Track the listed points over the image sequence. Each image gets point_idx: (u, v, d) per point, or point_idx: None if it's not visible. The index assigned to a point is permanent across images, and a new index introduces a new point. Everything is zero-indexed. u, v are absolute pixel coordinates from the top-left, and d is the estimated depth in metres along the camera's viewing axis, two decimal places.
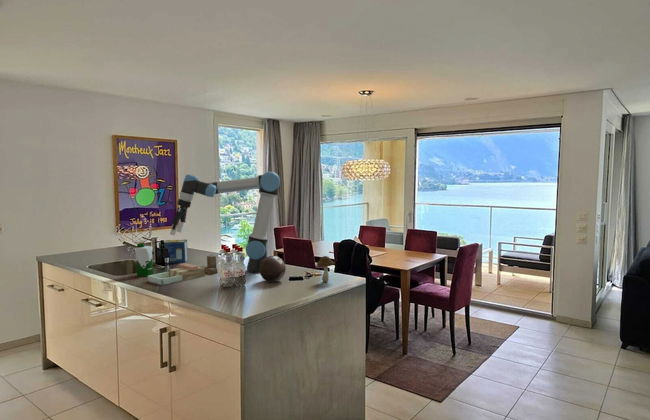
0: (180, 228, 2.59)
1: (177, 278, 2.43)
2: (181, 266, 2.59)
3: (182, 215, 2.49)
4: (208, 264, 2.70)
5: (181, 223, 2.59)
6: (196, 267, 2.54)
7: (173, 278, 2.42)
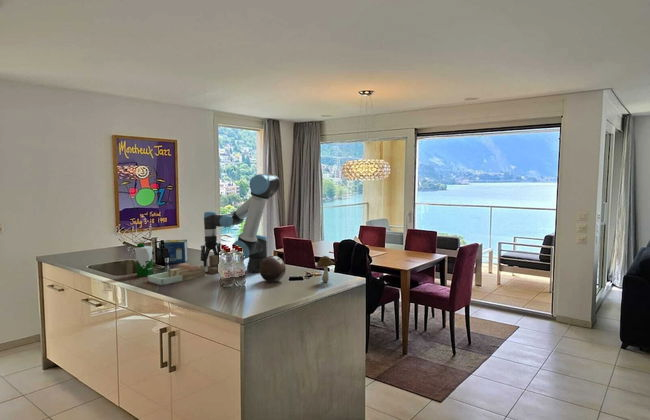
0: None
1: (177, 278, 2.43)
2: (181, 266, 2.59)
3: (209, 250, 2.67)
4: (210, 264, 2.72)
5: None
6: (196, 267, 2.54)
7: (173, 278, 2.42)
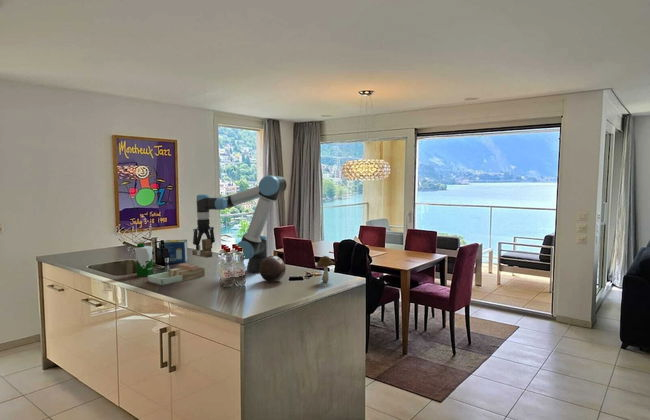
0: None
1: (177, 278, 2.43)
2: (181, 266, 2.59)
3: (202, 234, 2.63)
4: (203, 248, 2.67)
5: None
6: (196, 267, 2.54)
7: (173, 278, 2.42)
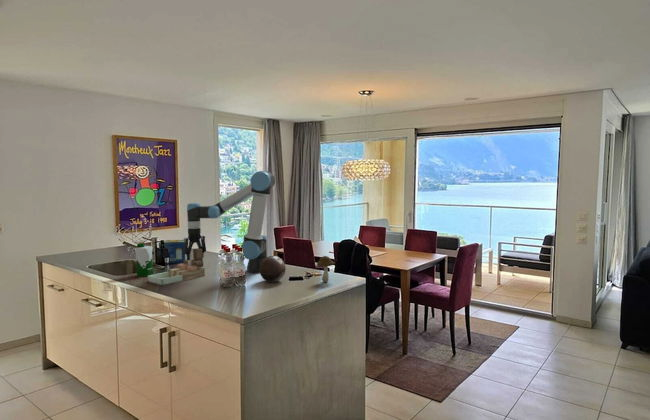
0: None
1: (177, 278, 2.43)
2: (180, 266, 2.58)
3: (193, 243, 2.58)
4: (194, 257, 2.62)
5: None
6: (195, 267, 2.53)
7: (173, 278, 2.42)
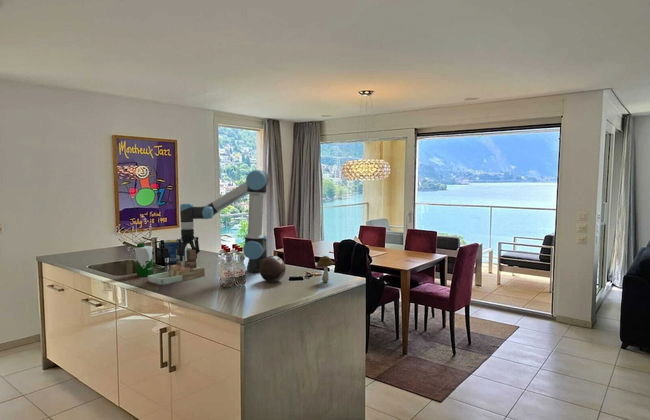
0: None
1: (177, 278, 2.43)
2: (173, 267, 2.55)
3: (186, 244, 2.54)
4: (187, 259, 2.59)
5: None
6: (188, 269, 2.50)
7: (173, 278, 2.42)
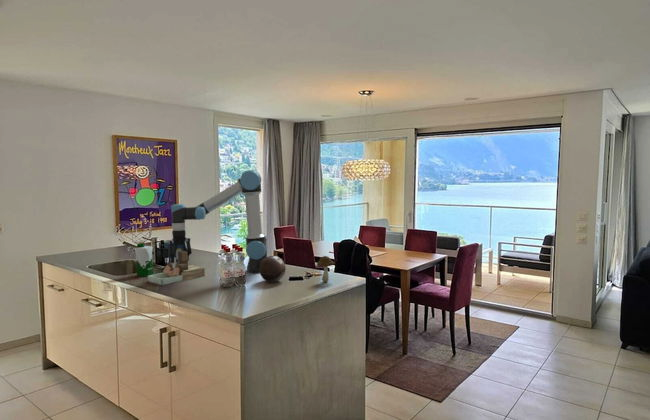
0: None
1: (177, 278, 2.43)
2: (166, 273, 2.51)
3: (177, 246, 2.50)
4: (179, 260, 2.54)
5: None
6: (177, 269, 2.45)
7: (173, 278, 2.42)
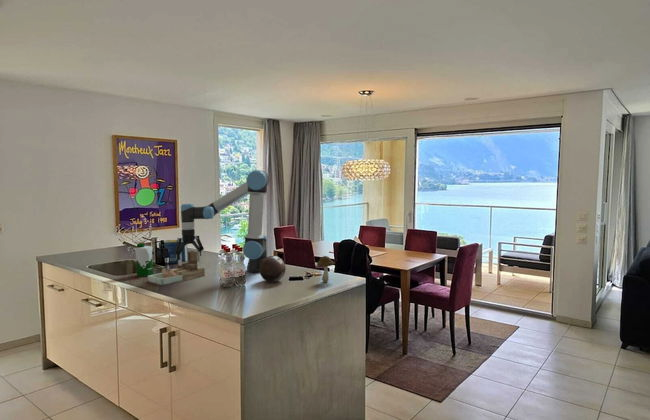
0: (198, 257, 2.62)
1: (177, 278, 2.43)
2: None
3: None
4: (188, 260, 2.59)
5: (197, 253, 2.62)
6: (171, 271, 2.44)
7: (173, 278, 2.42)
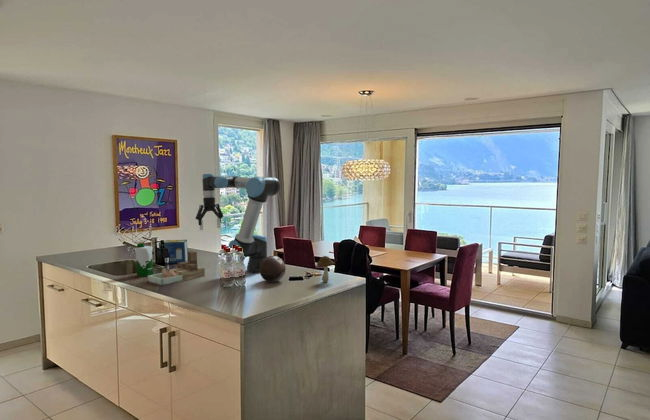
0: (218, 224, 2.82)
1: (177, 278, 2.43)
2: None
3: None
4: (188, 260, 2.59)
5: (218, 220, 2.82)
6: (171, 271, 2.44)
7: (173, 278, 2.42)
